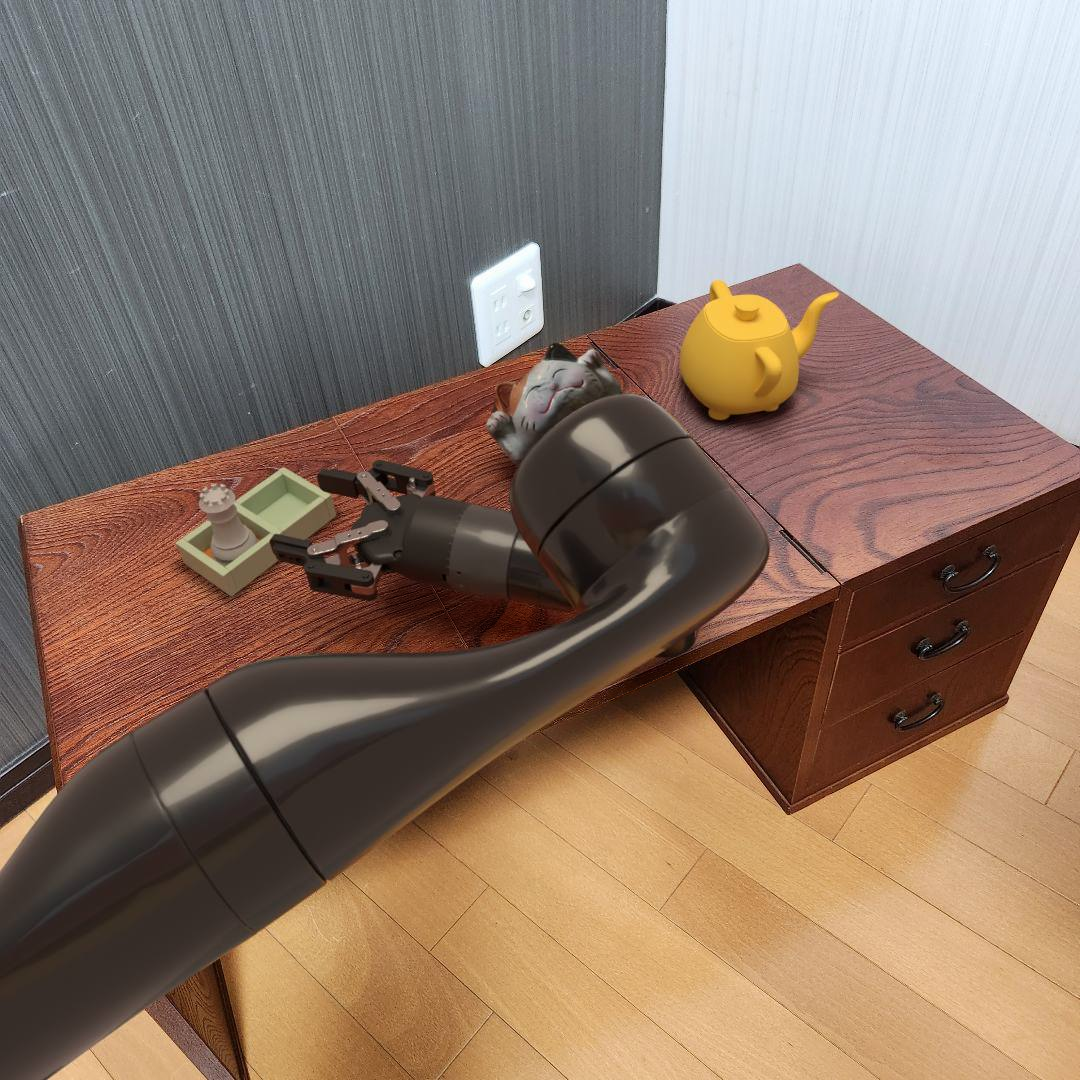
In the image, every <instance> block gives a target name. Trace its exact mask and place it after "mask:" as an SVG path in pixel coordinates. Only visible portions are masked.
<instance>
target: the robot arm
mask: <svg viewBox="0 0 1080 1080" xmlns="http://www.w3.org/2000/svg"><path fill="white" fill-rule="evenodd" d="M722 473H723V472H721V471H720V470H719V468H718V467H717V466H716V465H715V463H713V461H712V460H711V458H709V456H708V455H707V454H706V453H705V451H704V450H703V449H702V448H701V446H700V445H699V444H698V443H697V442H696V441H695V440H694V439H693V437H692V436H691V435H690V434H689V432H688V431H687V430H686V429H685V428H684V426H683V425H682V424H681V423H680V422H679V420H677V419H676V418H675V416H674V415H672V414H671V413H670V412H669V411H667V410H666V409H665V408H664V407H662V406H661V405H660V404H658V403H657V402H655V401H654V400H653V399H651V398H648V397H646V396H643V395H639V394H635V393H622V394H615V395H611V396H607V397H603V398H600V399H598V400H595V401H593V402H591V403H588V404H586V405H585V406H583V407H581V408H580V409H578V410H576V411H574V412H573V413H571V414H570V415H569V416H567V417H566V418H564V419H563V420H562V421H560V422H559V423H558V424H556V425H555V426H554V427H553V428H551V429H550V430H549V431H548V432H547V433H546V434H544V435H543V436H542V437H541V438H540V439H539V440H538V441H537V442H536V443H535V444H534V445H533V446H532V448H531V449H530V450H529V451H528V453H527V454H526V455H525V456H524V458H523V459H522V461H521V462H520V464H519V466H518V467H516V469H515V471H514V474H513V477H512V479H511V483H510V486H509V491H508V503H509V504H508V505H509V508H510V511H508V510H506V509H502V508H496V507H493V506H492V507H491V506H487V505H482V504H477V503H473V502H467V501H462V500H457V499H453V498H448V497H443V496H438V495H436V487H435V482H434V481H435V479H434V474H433V473H432V472H431V471H427V470H424V469H420V468H416V467H412V466H408V465H403V464H399V463H395V462H391V461H387V460H383V459H377V460H374V461H373V462H372V464H371V468H369V470H367V471H366V470H365V471H364V470H363V471H360V472H352V471H347V470H340V469H339V468H338V469H336V468H328V469H325V468H321V469H319V472H318V473H317V474H316V479H317V483H318V487H319V488H320V489H321V490H322V491H324V492H327V493H329V494H331V495H337V496H342V497H347V498H351V499H356V500H358V498H359V497H361V499H362V500H363V501H364V502H365V505H364V507H363V509H362V510H361V514H360V516H359V518H358V519H356V520H355V521H354V522H353V524H352V525H351V527H350V530H346V531H343V532H339V533H336V534H335V535H334V536H333V538H332V539H329V540H328V539H327V540H324V541H321V542H317V543H314V544H313V542H312V541H310V540H307V539H306V540H303V539H298V538H294V537H289V536H285V535H280V534H274V535H273V536H272V538H271V539H270V541H269V542H270V545H271V548H272V551H273V553H274V555H275V556H276V559H278V560H279V561H278V562H280V563H285V564H286V563H287V564H291V565H294V566H299V567H302V568H303V571H304V573H305V576H306V580H307V582H308V586H309V589H310V590H311V592H315V593H322V594H328V595H332V596H339V597H343V598H349V599H355V600H359V601H360V600H361V601H366V602H372V601H375V600H376V599H378V596H379V593H378V588H377V586H378V584H380V583H379V582H380V581H381V578H382V576H383V575H386V574H399V575H401V576H403V577H404V578H406V579H407V580H410V581H411V582H413V583H417V584H422V585H426V586H431V587H435V588H439V589H443V590H444V589H445V590H449V591H453V592H458V593H462V594H466V595H471V596H475V597H479V598H484V599H485V598H486V599H494V600H505V601H509V602H510V601H512V602H516V603H520V604H522V605H523V604H524V605H529V606H533V607H536V608H537V607H538V608H542V609H546V610H550V611H553V612H554V611H556V612H560V613H571V612H575V611H576V613H577V615H576V616H574V617H572V618H570V619H567V620H565V621H561V622H560V623H557V624H555V625H552V626H550V627H547V628H545V629H542V630H539V631H535V632H532V633H529V634H527V635H522V636H519V637H516V638H512V639H510V640H507V641H503V642H499V643H493V644H489V645H488V644H487V645H483V646H475V647H469V648H461V649H451V650H443V651H440V650H439V651H421V652H420V651H419V652H418V651H417V652H416V651H415V652H375V651H374V652H367V651H366V652H364V651H363V652H322V653H321V652H320V653H319V652H318V653H299V654H291V655H282V656H277V657H271V658H265V659H260V660H257V661H252V662H250V663H247V664H244V665H242V666H239V667H237V668H235V669H232V670H230V671H229V672H227V673H226V674H224V675H221V676H219V677H218V678H217V679H214V680H213V681H211V682H209V683H208V684H207V686H206V687H201V688H199V689H198V690H195V692H193V693H191V694H190V695H188V696H187V697H184V698H183V699H181V700H179V701H178V702H176V703H175V704H173V705H171V706H170V707H168V708H166V709H164V710H163V711H162V712H160V713H158V714H156V715H155V716H153V717H152V718H150V719H148V720H146V721H145V722H143V723H141V724H139V725H138V726H136V727H135V728H134V729H132V730H130V731H128V732H127V733H125V734H124V735H122V736H120V737H119V738H118V739H116V740H114V741H112V743H110V744H109V745H107V746H105V747H104V748H103V749H102V750H100V751H99V752H97V753H96V754H95V755H94V756H93V757H92V758H90V759H89V760H88V761H86V763H84V764H83V766H82V767H80V768H79V769H78V771H77V772H76V773H74V774H73V775H72V777H70V779H69V780H68V781H67V782H66V783H65V784H64V785H63V787H62V788H61V789H60V790H59V791H58V792H57V794H55V796H54V797H53V798H52V800H50V802H49V803H48V805H47V806H46V807H45V809H44V810H43V811H42V813H41V814H40V815H39V817H37V819H36V821H35V822H34V823H33V825H32V826H31V827H30V828H29V830H28V832H27V833H26V834H25V836H24V837H23V838H22V839H21V840H20V843H18V845H17V847H16V848H15V849H14V851H13V853H12V854H11V855H10V857H9V858H8V859H7V861H6V862H5V864H4V865H3V867H2V868H1V869H0V1080H49V1079H51V1078H52V1077H53V1076H55V1075H57V1074H58V1073H59V1072H61V1071H62V1070H63V1069H64V1068H66V1067H67V1066H69V1065H70V1064H71V1063H73V1062H74V1061H75V1060H77V1059H78V1058H79V1057H81V1056H82V1055H83V1054H85V1053H86V1052H88V1051H89V1050H91V1049H92V1048H93V1047H94V1046H96V1045H97V1044H99V1043H100V1042H101V1041H103V1040H104V1039H106V1038H107V1037H108V1036H110V1035H111V1034H112V1033H114V1032H115V1031H117V1030H118V1029H119V1028H121V1027H123V1025H125V1024H127V1023H128V1022H129V1021H131V1020H132V1019H133V1018H135V1017H137V1016H138V1015H139V1014H140V1013H142V1012H143V1011H145V1010H146V1009H148V1008H149V1007H150V1006H152V1005H154V1003H157V1002H158V1001H159V1000H160V999H162V998H163V997H165V996H166V995H168V994H169V993H170V992H172V991H174V990H175V989H176V988H178V987H180V986H181V985H182V984H185V982H186V981H189V979H191V978H193V977H194V976H196V975H197V974H198V973H200V972H201V971H203V970H204V969H206V968H207V967H209V966H210V965H212V964H213V963H215V962H216V961H218V960H219V959H221V958H222V957H224V956H225V955H227V954H229V953H230V952H232V951H233V950H235V949H236V948H238V947H239V946H241V945H242V944H244V943H245V942H247V941H248V940H250V939H251V938H253V937H255V936H256V935H257V934H258V933H261V932H262V931H263V930H264V929H266V928H267V927H269V926H271V924H273V923H275V921H277V920H278V919H280V918H281V917H282V916H284V915H285V914H287V913H289V912H290V911H291V910H293V909H294V908H296V907H298V905H300V904H301V903H302V902H304V901H305V900H307V899H308V898H310V897H311V896H312V895H314V894H315V893H317V892H318V891H319V890H321V889H322V888H324V887H325V886H326V885H327V884H328V882H332V881H334V880H335V879H336V878H337V877H339V876H340V875H342V874H343V873H344V872H345V871H347V870H348V869H349V868H351V867H352V866H353V865H355V864H356V863H358V862H359V861H360V860H362V859H363V858H364V857H365V856H367V855H368V854H370V853H371V852H372V851H373V850H375V849H376V848H377V847H378V846H380V845H381V844H383V843H384V842H385V841H387V840H388V839H389V838H390V837H391V836H393V835H394V834H396V833H397V832H398V831H400V830H401V829H402V828H404V827H405V826H406V825H408V824H409V823H410V822H412V821H413V820H414V819H416V818H417V817H418V816H419V815H421V814H422V813H424V812H425V811H426V810H428V808H430V807H431V806H433V805H434V804H435V803H437V802H438V801H439V800H440V799H442V798H444V797H445V796H446V795H447V794H449V793H450V792H451V791H453V790H454V789H455V788H457V787H459V785H461V784H462V783H464V782H465V781H466V780H467V779H469V778H470V777H471V776H473V775H474V774H475V773H477V772H478V771H480V770H482V769H483V768H484V767H485V766H486V765H487V766H488V764H489V763H491V762H493V761H494V760H496V759H497V758H498V757H500V756H501V755H503V754H504V753H506V752H507V751H508V750H510V749H511V748H513V747H515V746H516V745H518V744H519V743H521V742H522V741H524V740H526V739H527V738H528V737H529V736H532V735H533V734H535V733H536V732H537V731H539V730H541V729H543V728H544V727H545V726H547V725H549V724H550V723H552V722H553V721H555V720H556V719H558V718H561V716H563V715H564V714H567V713H568V712H569V711H571V710H573V709H574V708H576V707H577V706H579V705H580V704H582V703H584V702H585V701H587V700H588V699H590V698H592V697H593V696H596V694H598V693H601V691H603V690H605V689H606V688H608V687H609V686H611V685H612V684H614V683H616V682H617V681H619V680H620V679H622V678H624V677H626V675H628V674H630V673H632V672H633V671H635V670H636V669H638V668H639V667H641V666H643V665H645V664H646V663H648V662H649V661H651V660H652V659H654V658H656V659H657V658H660V659H666V658H667V659H668V658H673V657H677V656H680V655H683V654H685V653H687V652H688V651H690V650H691V649H692V648H693V647H694V646H695V644H696V642H697V640H698V636H699V633H700V629H701V628H702V627H703V626H705V625H707V624H708V623H710V621H712V620H714V619H715V618H716V617H717V616H719V615H720V614H722V613H723V612H724V611H725V610H727V609H728V608H729V607H730V606H731V605H732V604H734V603H735V602H736V601H737V600H738V599H739V598H741V597H742V596H743V595H744V594H745V593H746V592H747V591H748V590H749V589H751V587H752V585H754V583H756V581H757V579H758V578H759V577H760V576H761V574H762V573H763V571H764V570H765V568H766V566H767V564H768V562H769V559H770V552H771V542H770V538H769V535H768V533H767V532H766V531H765V529H764V527H763V525H762V523H761V522H760V520H759V518H758V517H757V516H756V514H755V513H754V512H753V511H752V509H751V508H750V507H749V505H748V504H747V503H746V501H745V500H744V499H743V498H742V496H740V494H739V493H738V492H737V490H736V489H735V487H734V486H733V485H732V484H731V483H730V482H729V480H728V479H727V478H726V477H725V476H724V474H722ZM391 492H394V493H397V494H401V495H397V496H393V494H392V493H391ZM351 546H353V549H354V551H355V552H356V554H349V553H348V548H349V547H351ZM334 554H336V555H334ZM330 555H332V556H330ZM333 555H334V556H333ZM327 556H330V557H327ZM325 557H326V558H325Z"/></svg>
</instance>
